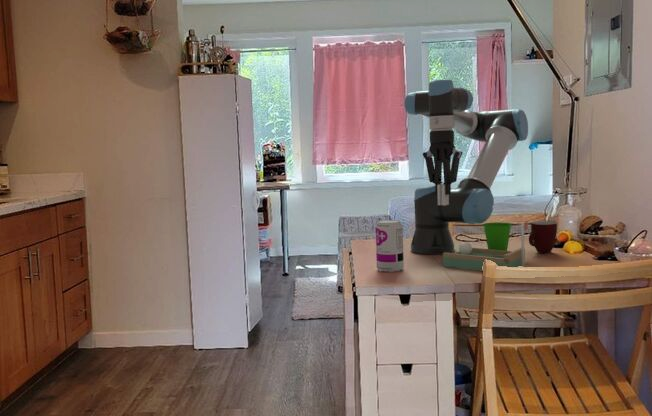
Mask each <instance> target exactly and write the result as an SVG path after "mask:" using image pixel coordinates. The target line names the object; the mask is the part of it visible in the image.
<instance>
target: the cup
mask: <svg viewBox="0 0 652 416" xmlns="http://www.w3.org/2000/svg"><path fill="white" fill-rule="evenodd" d="M482 226H483V227H484V232H485V233H484V234H485V239H486V245H487V249H492V250H503V251H508V247H509V240H510V235H511V234H510V233H511V228H512V223H511V222H501V221H499V222H495V221H494V222H484V223H482Z"/></svg>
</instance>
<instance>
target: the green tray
mask: <svg viewBox="0 0 652 416" xmlns="http://www.w3.org/2000/svg"><path fill="white" fill-rule="evenodd" d="M485 259H487V260H491V261H493V262H495V263H496V264H497V265H498V266H507V267H518V266H522V249H521V247H520V248H518V249H516V250H507V251H503V250H492V249H488V248H479V247H477V248H476V247H472V251H471V253H470V254H468V255H465V254H461V253H460V251H456V252H449V253H445V252H444V253H443V254H442V262H443V263H442V267H447V268H453V267H455V269H463V270H472V271H480V272H481V271H482V266H483V262H484V260H485ZM524 264H525V265H526V248H524ZM482 272H483V271H482Z"/></svg>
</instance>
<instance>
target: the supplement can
mask: <svg viewBox="0 0 652 416" xmlns="http://www.w3.org/2000/svg"><path fill="white" fill-rule="evenodd" d="M403 230H404V227H403V224H402V222H401V220H398V219H383V220H382V219H381V220H377V223H376V225H375V250H376V251H375V252H376V253H375V254H376V269H377V270H378V271H379V270H381V271H380V272H382V271H389V272H388V273H394V272H393V271H397V272H401V271H402V269H404V267H405V262H404V260H405V259H404V257H405V255H404V231H403ZM400 270H401V271H400Z"/></svg>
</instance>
